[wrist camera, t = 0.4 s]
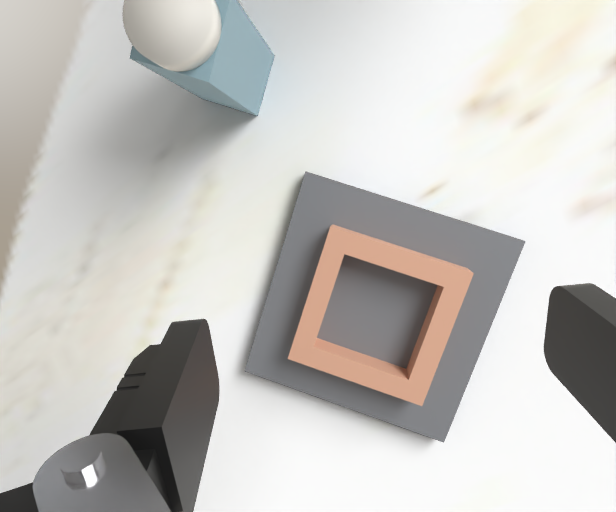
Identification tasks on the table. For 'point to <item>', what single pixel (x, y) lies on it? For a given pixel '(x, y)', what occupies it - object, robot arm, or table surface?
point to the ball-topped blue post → (201, 48)
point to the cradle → (380, 305)
